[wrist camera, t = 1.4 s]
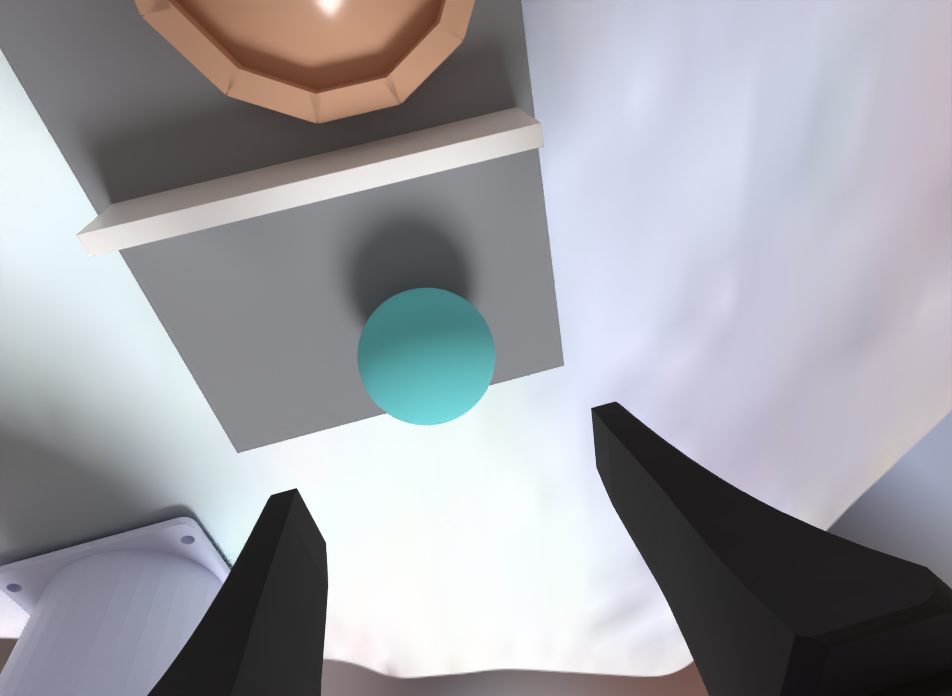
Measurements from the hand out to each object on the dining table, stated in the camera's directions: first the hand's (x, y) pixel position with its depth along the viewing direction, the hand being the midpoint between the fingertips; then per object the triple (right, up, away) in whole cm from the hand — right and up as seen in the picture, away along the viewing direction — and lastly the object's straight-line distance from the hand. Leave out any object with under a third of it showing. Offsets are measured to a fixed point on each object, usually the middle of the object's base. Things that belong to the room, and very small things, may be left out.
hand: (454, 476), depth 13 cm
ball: (-2, +4, +6) cm, 8 cm away
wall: (-4, +8, +3) cm, 10 cm away
